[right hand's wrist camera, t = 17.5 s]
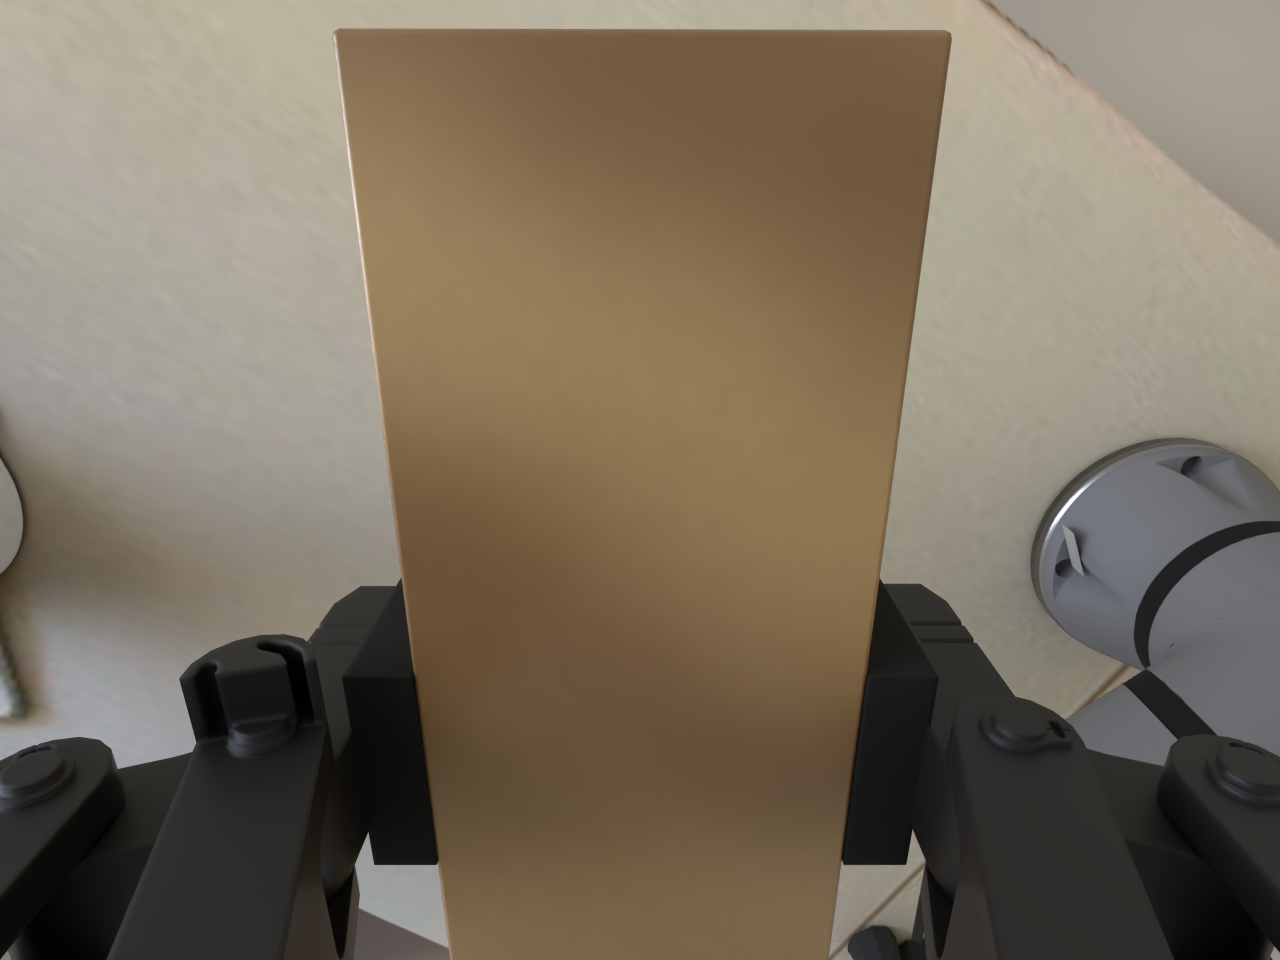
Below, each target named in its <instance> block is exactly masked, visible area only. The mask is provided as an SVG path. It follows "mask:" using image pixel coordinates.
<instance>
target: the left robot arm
mask: <svg viewBox="0 0 1280 960" xmlns="http://www.w3.org/2000/svg"><path fill="white" fill-rule="evenodd" d="M22 533H23V513H22V506H21V502H20V498H19V495H18V492H17V489H16V486H15V484H14V482H13V479H12V477H11V475H10V474H9V472H8V470H7V468H6V467H5V465H4V463H3V462H2V460H1V458H0V574H1V573H2V572H3V571H4V570H5V569H6V568H7V567H8V566H9V565H10V563H11V562H12V561H13V559H14V557H15V556H16V554H17V551H18V549H19V546H20V543H21V539H22Z"/></svg>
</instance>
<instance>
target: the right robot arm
mask: <svg viewBox="0 0 1280 960" xmlns="http://www.w3.org/2000/svg"><path fill="white" fill-rule="evenodd" d="M1031 576H1032V582H1033V586H1034V589H1035V592H1036V594H1037V597H1038V599H1039V601H1040V602H1041V604H1042V606H1043V607H1044V609H1045V610H1046V611H1047V613H1048V614H1049V615H1050V616H1051V617H1052V618H1053V619H1054V620H1055V621H1056V622H1057V623H1058V624H1059V625H1060V626H1061V628H1062V629H1063V630H1064V631H1066V632H1067V633H1068V634H1069V635H1070V636H1072V637H1073V638H1075V639H1076V640H1078V641H1080V642H1081V643H1082V644H1084V645H1086V646H1088V647H1089V648H1092V649H1094V650H1096V651H1098V652H1100V653H1102V654H1105V655H1107V656H1109V657H1111V658H1114V659H1116V660H1118V661H1120V662H1123V663H1125V664H1127V665H1129V666H1132V667H1134V668H1136V669H1138V670H1141V671H1142V672H1140V673H1139V674H1137V675H1136V676H1134V677H1133V678H1131V679H1129V680H1128V681H1126V682H1125V683H1123V684H1121V685H1120V686H1118V687H1116V688H1115V689H1113V690H1112V691H1110V692H1108V693H1107V694H1105V695H1104V696H1102V697H1100V698H1099V699H1097V700H1096V701H1094V702H1092V703H1091V704H1089V705H1088V706H1086V707H1084V708H1083V709H1081V710H1080V711H1078V712H1076V713H1075V714H1073V715H1072V716H1070V717H1068V718H1067V719H1065V720H1064V719H1063V718H1062V717H1060V716H1059V715H1058V714H1056V713H1055V712H1054V711H1052V710H1050V709H1047V708H1045V707H1043V706H1041V705H1039V704H1037V703H1035V702H1032V701H1030V700H1026V699H1022V698H1018V697H1015V696H1014V694H1013V693H1012V692H1011V690H1010V689H1009V687H1008V686H1007V685H1006V683H1005V682H1004V680H1003V679H1002V678H1001V676H1000V675H999V674H998V672H997V671H996V669H995V668H994V667H993V665H992V664H991V662H990V661H989V660H988V658H987V657H986V655H985V654H984V653H983V651H982V650H981V649H980V647H979V646H978V644H977V643H974V642H973V637H972V636H971V635H970V633H969V632H968V630H967V629H966V628H965V626H961V621H960V619H959V618H958V617H957V615H956V614H955V612H954V611H953V610H952V608H951V607H950V605H949V604H948V603H947V601H945V600H944V599H942V598H941V597H939V596H938V595H936V594H935V593H933V592H932V591H930V590H929V589H927V588H926V587H924V586H923V585H921V584H883V583H882V581H881V579H880V578H879V585H878V593H877V600H876V608H875V615H874V623H873V630H872V637H871V645H870V652H869V660H868V667H867V674H866V682H865V689H864V697H863V704H862V712H861V719H860V727H859V734H858V741H857V749H856V756H855V764H854V771H853V779H852V786H851V794H850V801H849V809H848V816H847V824H846V831H845V839H844V846H843V854H842V861H843V864H844V865H906V863H907V857H908V852H909V846H910V840H911V834H912V829H913V831H914V833H915V836H916V838H917V840H918V843H919V845H920V848H921V850H922V852H923V855H924V857H925V860H926V864H925V869H924V874H923V880H922V885H921V890H920V896H919V901H918V906H917V912H916V917H915V922H914V928H913V935H912V941H915V942H920V943H922V938H923V933H924V936H925V946H926V956H927V960H1280V491H1279V490H1278V488H1277V487H1276V486H1275V485H1274V484H1273V482H1272V481H1271V480H1270V479H1269V478H1268V477H1267V476H1266V475H1265V474H1264V473H1263V472H1261V471H1260V470H1259V469H1258V468H1257V467H1256V466H1254V465H1253V464H1252V463H1250V462H1249V461H1247V460H1246V459H1244V458H1242V457H1241V456H1238V455H1236V454H1234V453H1232V452H1230V451H1228V450H1226V449H1223V448H1221V447H1219V446H1217V445H1214V444H1211V443H1208V442H1205V441H1200V440H1195V439H1186V438H1166V439H1157V440H1151V441H1146V442H1142V443H1138V444H1135V445H1132V446H1129V447H1126V448H1123V449H1121V450H1118V451H1116V452H1114V453H1112V454H1110V455H1108V456H1106V457H1104V458H1102V459H1101V460H1099V461H1097V462H1096V463H1094V464H1093V465H1091V466H1090V467H1088V468H1087V469H1085V470H1084V471H1083V472H1082V473H1080V474H1079V475H1078V476H1077V477H1076V478H1074V479H1073V480H1072V481H1071V482H1070V483H1069V484H1068V485H1067V486H1066V487H1065V488H1064V489H1063V490H1062V491H1061V492H1060V494H1059V495H1058V496H1057V497H1056V499H1055V500H1054V501H1053V503H1052V504H1051V506H1050V507H1049V509H1048V510H1047V512H1046V514H1045V515H1044V517H1043V519H1042V521H1041V523H1040V525H1039V528H1038V530H1037V533H1036V536H1035V539H1034V542H1033V547H1032V553H1031ZM179 679H180V683H181V687H182V691H183V694H184V698H185V702H186V705H187V709H188V713H189V716H190V720H191V724H192V728H193V731H194V735H195V739H196V742H197V743H196V745H195V747H194V750H193V752H191V753H187V754H184V755H180V756H176V757H172V758H168V759H163V760H158V761H154V762H149V763H144V764H140V765H135V766H130V767H126V768H121V769H117V766H116V763H115V759H114V756H113V753H112V750H111V749H110V748H109V747H108V746H107V745H105V744H104V743H103V742H102V741H100V740H96V739H90V738H83V737H75V738H67V739H59V740H52V741H49V742H45V743H41V744H39V745H34V746H31V747H28V748H26V749H23V750H21V751H19V752H17V753H15V754H13V755H11V756H9V757H7V758H5V759H3V760H1V761H0V959H1V958H2V957H3V955H4V954H5V953H6V952H7V950H8V952H9V954H10V957H11V960H353V958H354V947H355V938H356V928H357V917H358V907H359V897H360V893H359V886H358V880H357V874H356V869H355V863H356V860H357V858H358V855H359V853H360V850H361V848H362V846H363V843H364V841H365V838H366V836H367V834H368V831H369V837H370V843H371V848H372V854H373V860H374V865H437V863H438V857H437V849H436V842H435V834H434V826H433V818H432V810H431V802H430V795H429V787H428V779H427V771H426V763H425V756H424V748H423V740H422V732H421V724H420V717H419V709H418V701H417V693H416V685H415V678H414V671H413V663H412V655H411V647H410V639H409V632H408V624H407V616H406V608H405V600H404V592H403V585H402V577H401V579H400V581H399V582H398V584H397V586H360V587H359V588H357V589H356V590H354V591H353V592H351V593H350V594H348V595H347V596H345V597H344V598H342V599H341V600H339V601H338V602H337V603H335V604H334V605H333V607H332V608H331V609H330V611H329V612H328V614H327V615H326V616H325V618H324V619H323V621H322V622H321V623H320V628H317V629H316V630H315V632H314V633H313V635H312V636H311V637H310V639H309V640H308V642H306V641H305V640H304V639H302V638H298V637H294V636H289V635H285V634H281V635H259V636H255V637H250V638H246V639H241V640H237V641H234V642H231V643H229V644H226V645H224V646H222V647H219V648H217V649H214V650H212V651H210V652H209V653H207V654H206V655H204V656H203V657H201V658H200V659H198V660H197V661H195V662H194V663H192V664H191V665H190V666H189V667H188V669H187V670H186V671H185V672H184V674H183V675H182V676H181V677H180V678H179Z"/></svg>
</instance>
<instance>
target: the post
mask: <svg viewBox="0 0 1280 960" xmlns="http://www.w3.org/2000/svg"><path fill="white" fill-rule="evenodd" d="M951 41H952V38H951V33H949V32H947V31H945V30H667V29H338V30H336V31H334V32H333V45H334V52H335V60H336V68H337V76H338V84H339V92H340V99H341V107H342V115H343V123H344V131H345V138H346V146H347V154H348V162H349V170H350V178H351V185H352V193H353V201H354V209H355V217H356V225H357V232H358V240H359V248H360V256H361V264H362V272H363V279H364V287H365V295H366V303H367V311H368V319H369V326H370V334H371V342H372V350H373V358H374V365H375V373H376V381H377V389H378V397H379V405H380V412H381V420H382V428H383V436H384V444H385V452H386V459H387V467H388V475H389V483H390V491H391V499H392V506H393V514H394V522H395V530H396V538H397V546H398V553H399V561H400V569H401V577H402V585H403V592H404V600H405V608H406V616H407V624H408V632H409V639H410V647H411V655H412V663H413V671H414V678H415V685H416V693H417V701H418V709H419V717H420V724H421V732H422V740H423V748H424V756H425V763H426V771H427V779H428V787H429V795H430V802H431V810H432V818H433V826H434V834H435V842H436V849H437V857H438V866H439V874H440V882H441V890H442V898H443V906H444V913H445V921H446V929H447V937H448V945H449V953H450V960H828V958H829V951H830V943H831V936H832V928H833V921H834V913H835V906H836V898H837V891H838V884H839V876H840V869H841V861H842V854H843V846H844V839H845V831H846V824H847V816H848V809H849V801H850V794H851V786H852V779H853V771H854V764H855V756H856V749H857V741H858V734H859V727H860V719H861V712H862V704H863V697H864V689H865V682H866V674H867V667H868V660H869V652H870V645H871V637H872V630H873V623H874V615H875V608H876V600H877V593H878V585H879V578H880V570H881V563H882V555H883V548H884V540H885V533H886V526H887V518H888V511H889V503H890V496H891V488H892V481H893V473H894V466H895V458H896V451H897V444H898V436H899V429H900V421H901V414H902V406H903V399H904V391H905V384H906V376H907V369H908V362H909V354H910V347H911V339H912V332H913V324H914V317H915V309H916V302H917V294H918V287H919V279H920V272H921V265H922V257H923V250H924V242H925V235H926V227H927V220H928V212H929V205H930V197H931V190H932V183H933V175H934V168H935V160H936V153H937V145H938V138H939V130H940V123H941V115H942V108H943V101H944V93H945V86H946V78H947V71H948V63H949V56H950V48H951Z"/></svg>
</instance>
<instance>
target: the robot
mask: <svg viewBox="0 0 1280 960" xmlns="http://www.w3.org/2000/svg"><path fill="white" fill-rule="evenodd" d="M896 941H897V940H896V938H895V936H894V935H893V933H892V932H891V930H890V929H889V928H885V927H873V926H871V927H870V928H868V929H866V930H864V931H862V932H860V933H858V934H856V935H855V936H854V937H853V938H852V939H851V940H850V941H849V945H848V952H849V953H850V955H851V956H852V958H853V960H927V956H926V946H925V940H922V943H920V942H915V941H909V942H906V943H905V944H904V945H903V946H901V947H900V948H898V945H897V942H896Z"/></svg>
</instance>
